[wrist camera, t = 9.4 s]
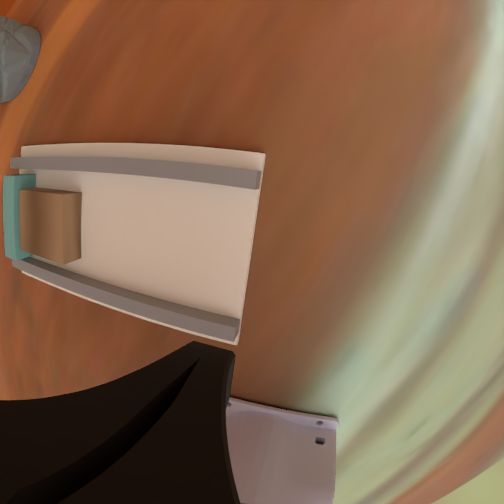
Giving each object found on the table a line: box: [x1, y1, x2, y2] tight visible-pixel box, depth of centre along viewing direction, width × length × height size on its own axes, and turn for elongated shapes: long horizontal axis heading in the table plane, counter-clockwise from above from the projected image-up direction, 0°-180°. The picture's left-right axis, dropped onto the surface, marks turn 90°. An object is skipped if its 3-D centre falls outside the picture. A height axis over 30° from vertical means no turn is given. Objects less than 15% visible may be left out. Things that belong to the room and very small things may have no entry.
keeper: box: [19, 187, 82, 265], centre depth 19 cm, size 6×5×2 cm
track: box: [3, 143, 266, 346], centre depth 18 cm, size 22×12×3 cm, turn 82°
